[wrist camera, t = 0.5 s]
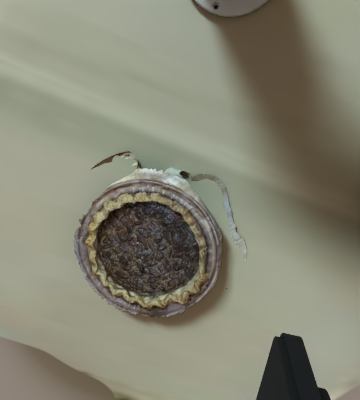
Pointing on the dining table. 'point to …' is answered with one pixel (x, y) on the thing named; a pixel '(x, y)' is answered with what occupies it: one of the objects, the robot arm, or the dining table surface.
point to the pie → (152, 242)
